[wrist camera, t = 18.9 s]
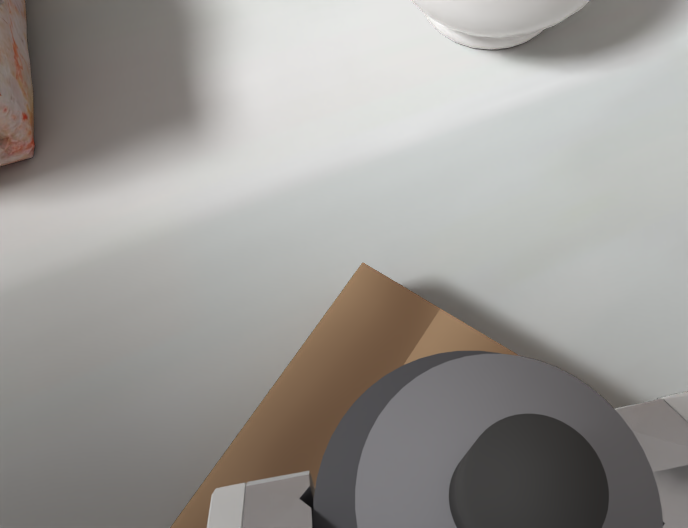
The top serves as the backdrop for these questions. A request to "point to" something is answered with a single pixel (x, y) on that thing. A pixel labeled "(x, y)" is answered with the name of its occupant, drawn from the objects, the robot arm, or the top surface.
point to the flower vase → (495, 19)
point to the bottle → (484, 452)
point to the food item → (15, 85)
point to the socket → (334, 381)
